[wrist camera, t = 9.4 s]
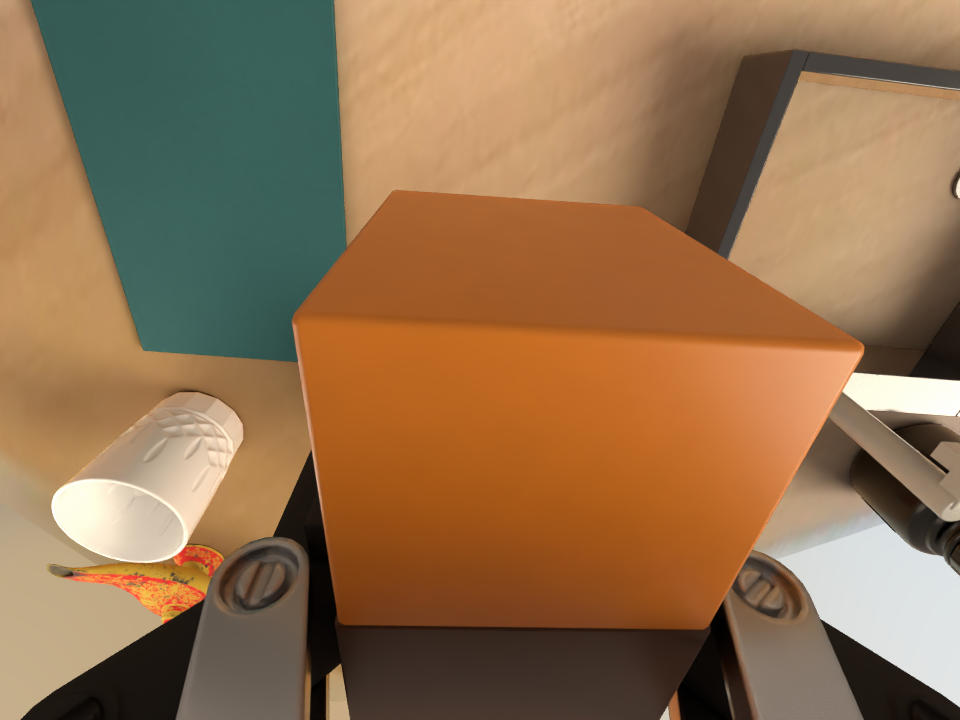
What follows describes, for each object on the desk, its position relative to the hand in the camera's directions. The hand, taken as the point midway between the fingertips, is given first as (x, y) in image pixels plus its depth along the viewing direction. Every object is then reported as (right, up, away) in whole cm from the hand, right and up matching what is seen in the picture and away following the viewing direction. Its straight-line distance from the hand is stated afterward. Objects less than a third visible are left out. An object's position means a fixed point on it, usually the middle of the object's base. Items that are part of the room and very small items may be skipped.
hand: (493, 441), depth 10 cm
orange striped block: (0, 0, 0) cm, 0 cm away
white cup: (-23, -3, +27) cm, 35 cm away
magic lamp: (-30, -17, +35) cm, 49 cm away
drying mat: (-16, +12, +18) cm, 27 cm away
